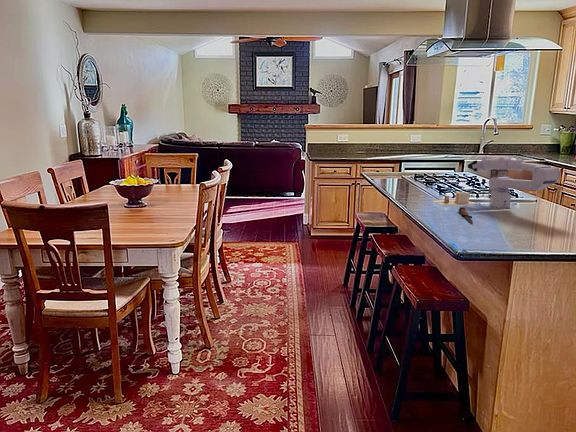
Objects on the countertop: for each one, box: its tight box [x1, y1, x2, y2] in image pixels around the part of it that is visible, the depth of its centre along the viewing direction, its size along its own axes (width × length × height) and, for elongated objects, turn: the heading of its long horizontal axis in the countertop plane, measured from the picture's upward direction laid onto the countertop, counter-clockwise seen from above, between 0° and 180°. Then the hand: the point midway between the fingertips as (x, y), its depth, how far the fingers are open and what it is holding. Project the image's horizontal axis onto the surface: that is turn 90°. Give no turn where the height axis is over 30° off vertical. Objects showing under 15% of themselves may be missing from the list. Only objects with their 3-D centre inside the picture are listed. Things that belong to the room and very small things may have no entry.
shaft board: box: [429, 195, 478, 207], centre depth 240 cm, size 16×20×4 cm
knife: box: [458, 206, 474, 225], centre depth 208 cm, size 25×3×5 cm
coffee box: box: [488, 169, 509, 194], centre depth 259 cm, size 9×6×16 cm
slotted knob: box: [454, 191, 471, 203], centre depth 241 cm, size 6×4×5 cm
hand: (474, 165), depth 247 cm, fingers open, 7 cm apart
